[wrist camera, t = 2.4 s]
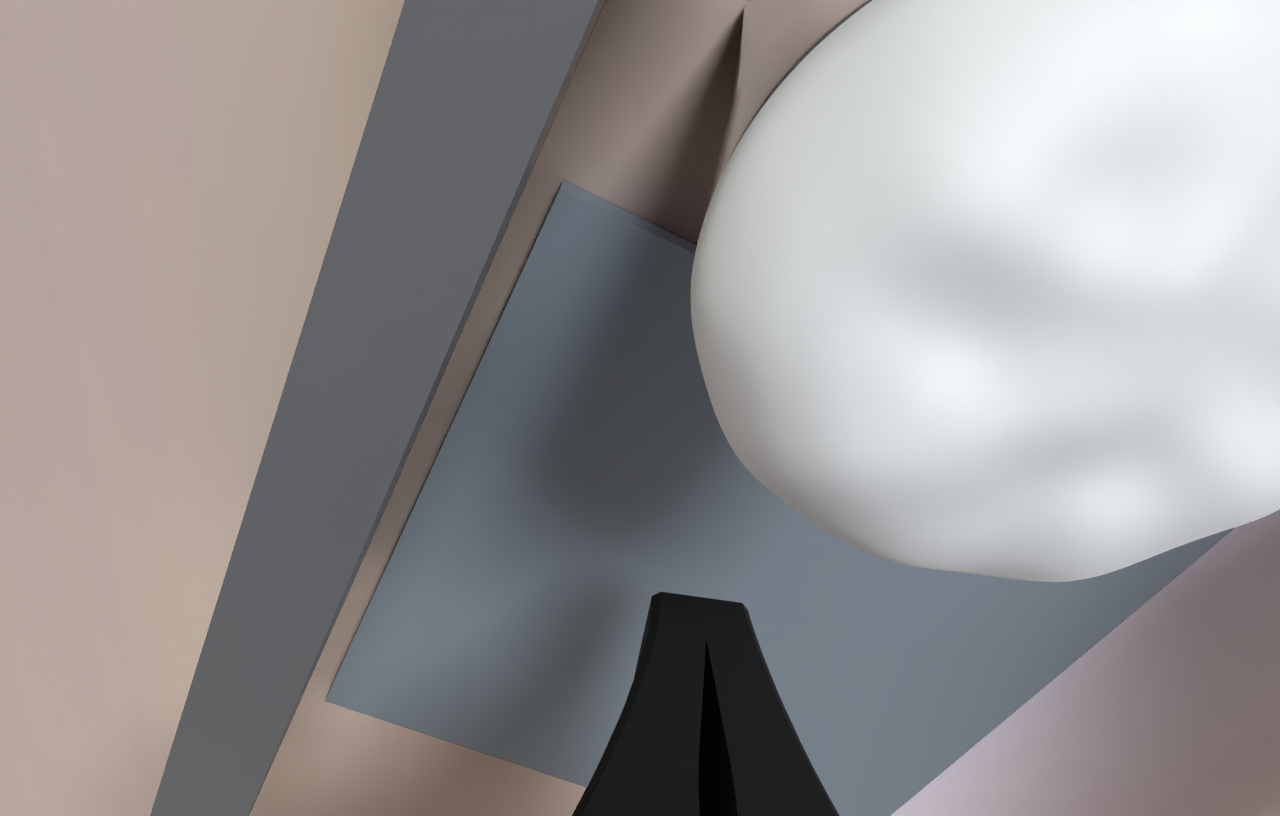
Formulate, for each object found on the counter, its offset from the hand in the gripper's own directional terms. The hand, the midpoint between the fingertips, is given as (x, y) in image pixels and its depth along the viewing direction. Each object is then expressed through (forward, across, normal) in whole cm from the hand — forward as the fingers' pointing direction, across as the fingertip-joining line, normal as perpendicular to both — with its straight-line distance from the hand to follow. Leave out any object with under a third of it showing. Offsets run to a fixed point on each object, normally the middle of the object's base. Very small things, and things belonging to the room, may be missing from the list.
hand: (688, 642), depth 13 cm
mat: (+4, -2, +4) cm, 6 cm away
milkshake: (+5, -1, -8) cm, 9 cm away
